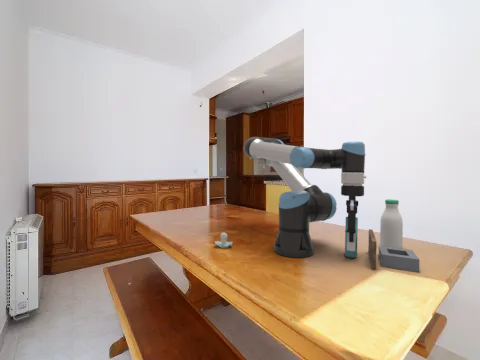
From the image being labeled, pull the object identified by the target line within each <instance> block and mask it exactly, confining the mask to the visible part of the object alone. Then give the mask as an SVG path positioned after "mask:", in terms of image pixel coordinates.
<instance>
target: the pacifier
mask: <svg viewBox="0 0 480 360" xmlns="http://www.w3.org/2000/svg"><path fill="white" fill-rule="evenodd" d="M219 236H220V237H219V238H220V240H221V241H219V240H216V241H214V244H215V245H216V246H217V247H219V249H220V248H222V249H227V248H229V247H232V246H233V243H234V242H233V241H227V239H228V234H227V233H226V232H221V233H220V235H219Z"/></svg>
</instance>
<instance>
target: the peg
mask: <svg viewBox="0 0 480 360" xmlns="http://www.w3.org/2000/svg"><path fill="white" fill-rule="evenodd" d="M358 226H359V218H358V217H357V216H356V226H355V230H356V232H355V233H356V239H355V251H349V250H347V232H345V231H347V229H348V216H345V230H344V232H345V233H344V234H345V237H344V242H345V243H344V256H346V257H347V258H352V259H355V258H358V230H359V229H358V228H359V227H358Z"/></svg>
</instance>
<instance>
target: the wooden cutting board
mask: <svg viewBox="0 0 480 360" xmlns="http://www.w3.org/2000/svg"><path fill="white" fill-rule="evenodd" d="M377 243H378V242H377V239H376V236H375V233H374V230H373V229H368V247H367V248H368V249H367V250H368V256H369V263H370V268H371V269H372V270H373V271H376V270H377Z"/></svg>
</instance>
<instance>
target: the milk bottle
mask: <svg viewBox="0 0 480 360" xmlns="http://www.w3.org/2000/svg"><path fill="white" fill-rule="evenodd" d="M384 204H385V208H384V211H383V213H382V215H381V216H380V227H379V229H380V230H379V246H383V247H391V248H399V249H403V234H404V232H403V231H404V230H403V229H404V227H403V226H404V224H403V221H404V220H403V217H402V215H401V213H400V211H399V200H398V199H391V198H390V199H388V198H387V199H385V200H384Z"/></svg>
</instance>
